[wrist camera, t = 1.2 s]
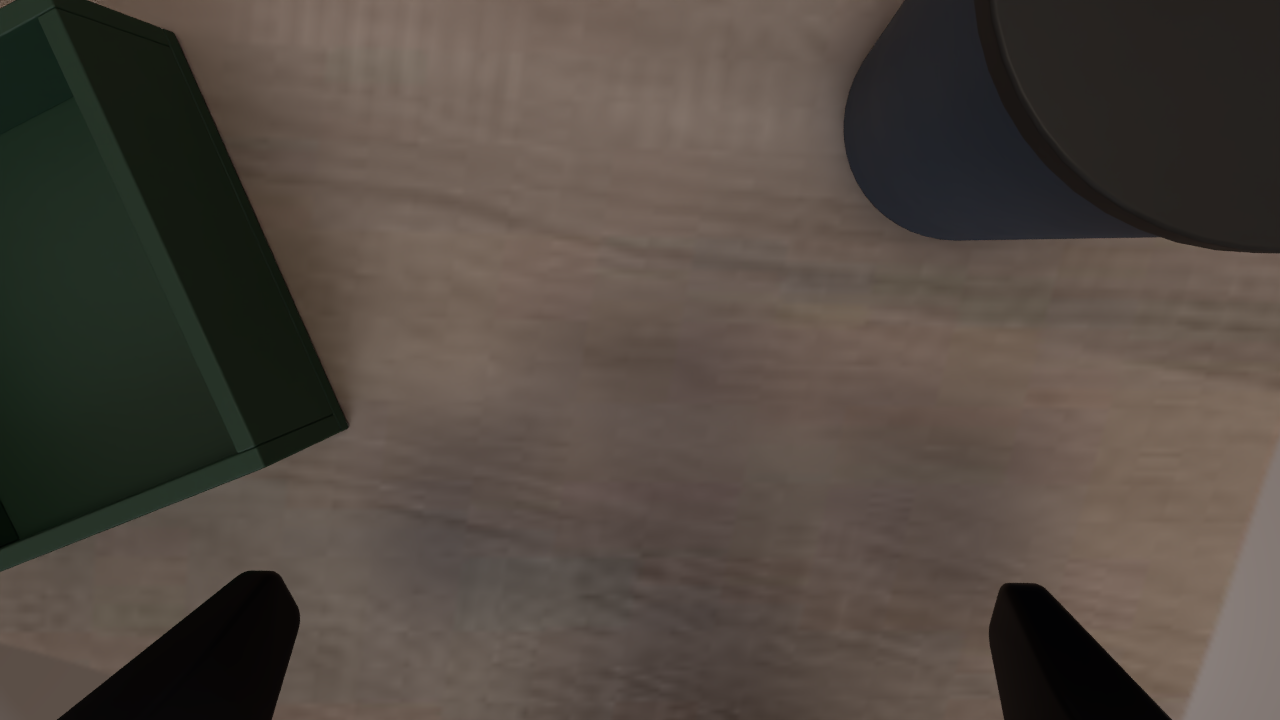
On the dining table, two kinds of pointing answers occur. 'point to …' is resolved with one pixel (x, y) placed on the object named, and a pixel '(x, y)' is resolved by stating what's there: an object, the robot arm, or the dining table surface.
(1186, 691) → the dining table surface
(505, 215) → the dining table surface
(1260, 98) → the cup with straw
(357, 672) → the dining table surface
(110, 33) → the bin
